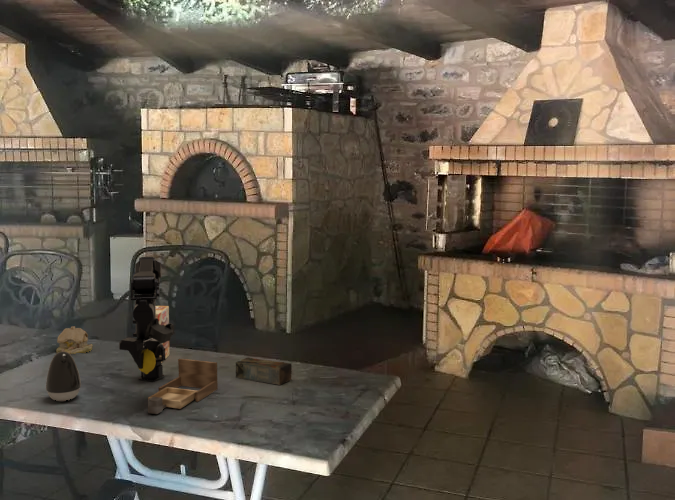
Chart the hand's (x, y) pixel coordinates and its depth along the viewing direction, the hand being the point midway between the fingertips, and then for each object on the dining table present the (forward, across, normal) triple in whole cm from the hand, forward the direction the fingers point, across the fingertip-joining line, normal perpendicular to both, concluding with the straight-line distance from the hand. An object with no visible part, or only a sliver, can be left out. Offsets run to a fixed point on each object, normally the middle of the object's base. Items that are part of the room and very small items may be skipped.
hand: (146, 366), depth 206 cm
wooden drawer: (+11, +1, -7) cm, 13 cm away
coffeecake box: (+12, +42, +25) cm, 50 cm away
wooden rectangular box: (+12, +35, -23) cm, 44 cm away
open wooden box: (+12, +12, -7) cm, 18 cm away
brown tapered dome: (+12, -6, +27) cm, 30 cm away
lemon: (+3, 0, 0) cm, 3 cm away
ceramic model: (+13, +41, +63) cm, 76 cm away
